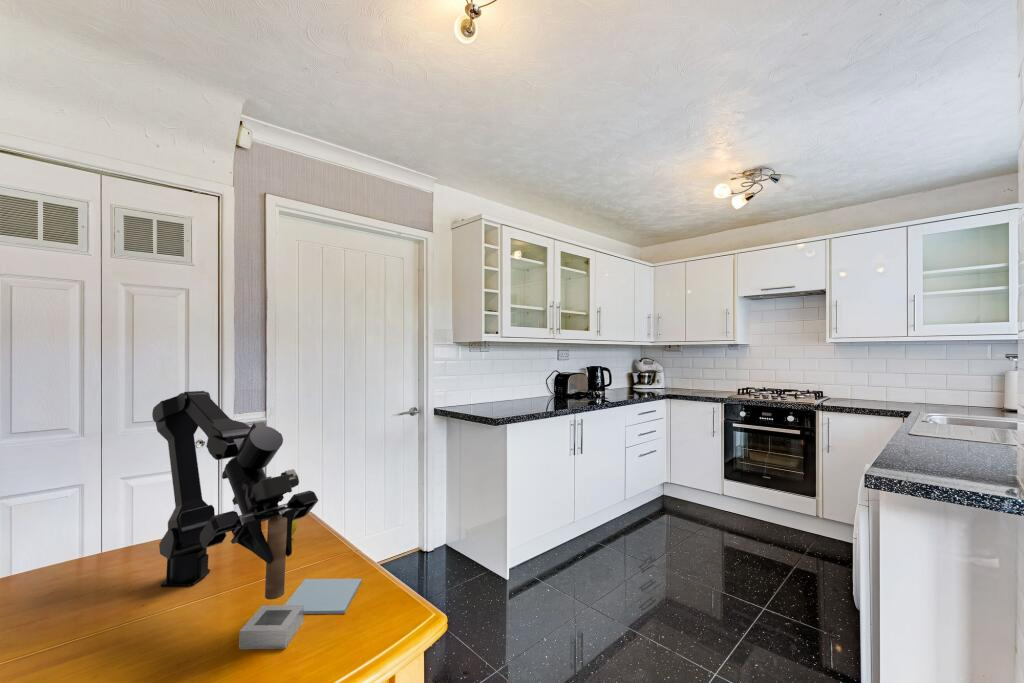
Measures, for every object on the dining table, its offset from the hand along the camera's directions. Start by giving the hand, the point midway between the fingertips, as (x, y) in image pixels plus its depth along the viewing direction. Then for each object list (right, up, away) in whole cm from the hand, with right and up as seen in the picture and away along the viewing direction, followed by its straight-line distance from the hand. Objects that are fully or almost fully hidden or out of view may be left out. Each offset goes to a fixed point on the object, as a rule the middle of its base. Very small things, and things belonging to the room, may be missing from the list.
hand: (280, 558), depth 78 cm
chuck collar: (-2, -13, 0) cm, 14 cm away
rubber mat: (+2, -14, +13) cm, 19 cm away
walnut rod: (-1, -7, 0) cm, 7 cm away
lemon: (-19, -14, +39) cm, 46 cm away
